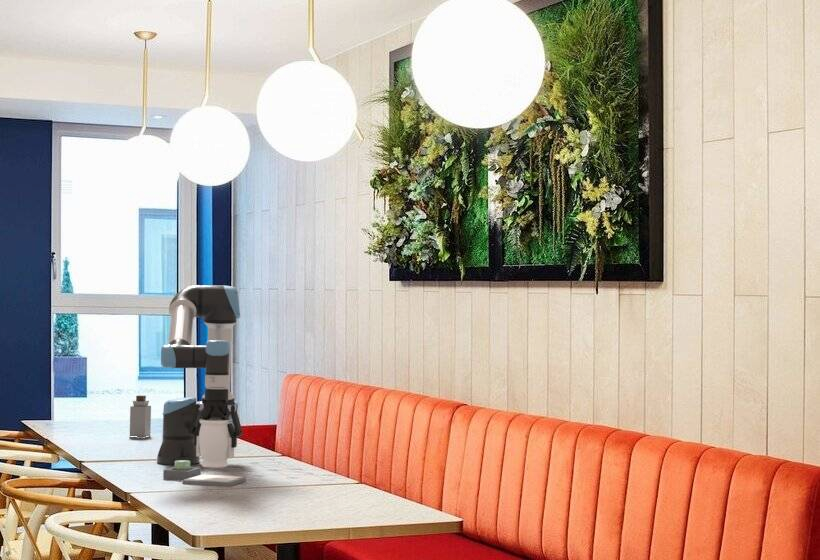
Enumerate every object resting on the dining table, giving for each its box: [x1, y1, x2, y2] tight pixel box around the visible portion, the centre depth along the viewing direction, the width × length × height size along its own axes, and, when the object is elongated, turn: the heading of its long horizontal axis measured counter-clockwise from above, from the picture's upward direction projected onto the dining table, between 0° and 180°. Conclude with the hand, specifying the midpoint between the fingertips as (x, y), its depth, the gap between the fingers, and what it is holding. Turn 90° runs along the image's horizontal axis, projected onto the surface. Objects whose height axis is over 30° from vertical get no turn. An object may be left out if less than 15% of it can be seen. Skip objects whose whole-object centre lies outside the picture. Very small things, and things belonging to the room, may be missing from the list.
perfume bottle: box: [129, 394, 152, 437], centre depth 484 cm, size 7×7×18 cm
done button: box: [174, 460, 191, 471], centre depth 367 cm, size 5×5×3 cm
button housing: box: [162, 466, 202, 481], centre depth 367 cm, size 9×9×3 cm
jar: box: [199, 418, 232, 468], centre depth 359 cm, size 11×10×15 cm
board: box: [181, 473, 247, 488], centre depth 359 cm, size 16×13×2 cm
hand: (215, 456), depth 359 cm, fingers closed on jar, 10 cm apart
